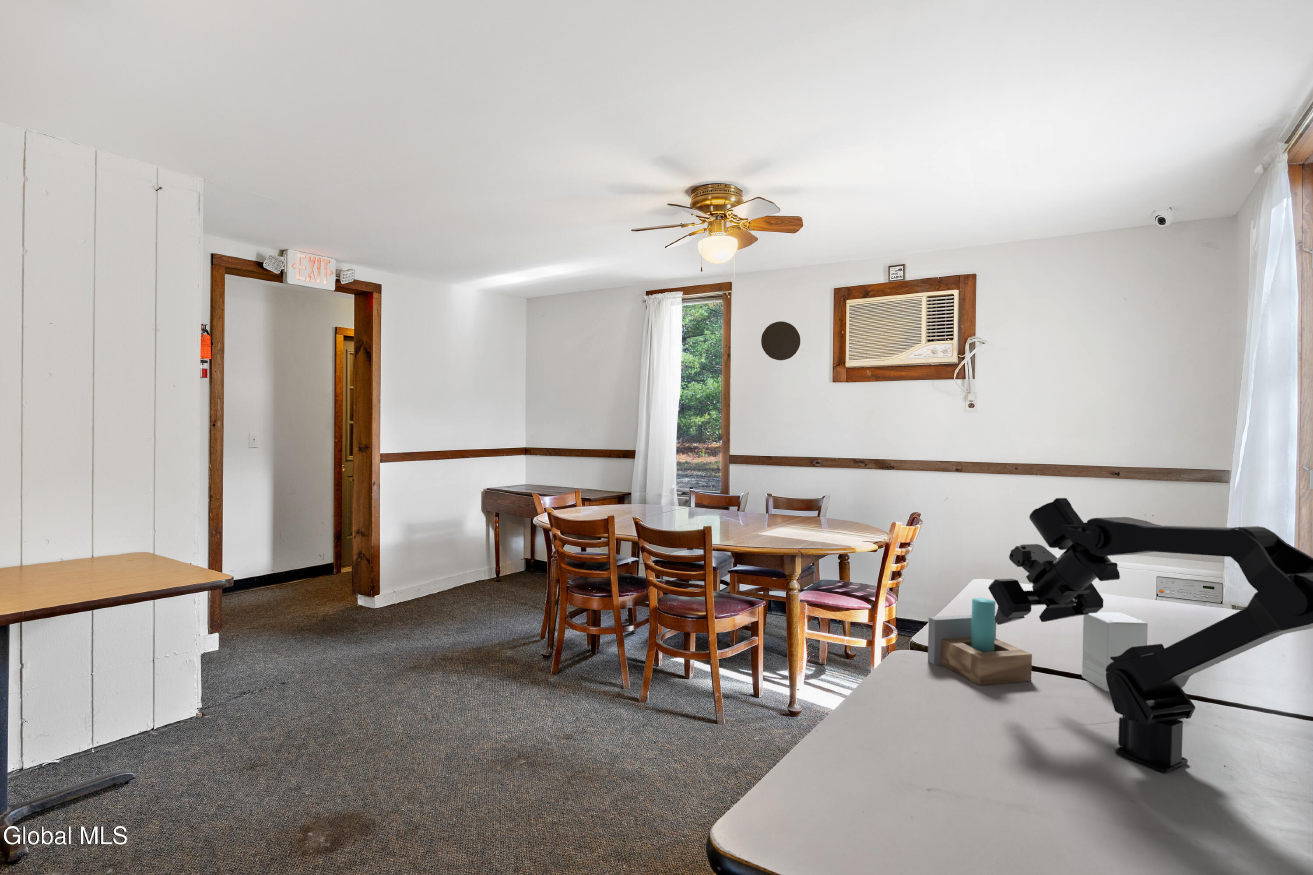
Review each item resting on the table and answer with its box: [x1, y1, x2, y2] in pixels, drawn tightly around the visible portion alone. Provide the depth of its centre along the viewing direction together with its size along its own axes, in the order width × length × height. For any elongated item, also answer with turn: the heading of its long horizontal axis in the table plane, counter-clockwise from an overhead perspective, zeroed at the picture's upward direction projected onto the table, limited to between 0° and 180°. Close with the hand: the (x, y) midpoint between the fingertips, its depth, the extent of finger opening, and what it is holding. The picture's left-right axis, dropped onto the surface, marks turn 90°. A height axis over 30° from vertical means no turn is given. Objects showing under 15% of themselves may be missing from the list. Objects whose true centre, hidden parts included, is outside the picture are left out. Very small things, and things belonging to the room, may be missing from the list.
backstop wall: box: [927, 614, 997, 666], centre depth 135 cm, size 2×14×9 cm, turn 104°
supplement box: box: [1081, 611, 1149, 693], centre depth 124 cm, size 7×7×13 cm
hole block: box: [940, 637, 1033, 686], centre depth 129 cm, size 11×11×5 cm
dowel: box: [971, 597, 996, 652], centre depth 129 cm, size 4×4×12 cm
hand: (1019, 620), depth 120 cm, fingers open, 9 cm apart
